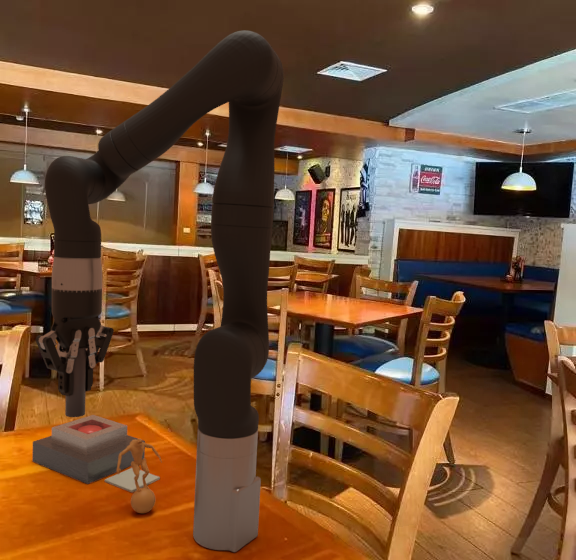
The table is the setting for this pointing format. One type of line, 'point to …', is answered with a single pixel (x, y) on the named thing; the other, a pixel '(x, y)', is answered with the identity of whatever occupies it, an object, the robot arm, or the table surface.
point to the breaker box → (85, 449)
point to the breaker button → (89, 429)
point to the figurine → (142, 496)
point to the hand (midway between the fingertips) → (75, 392)
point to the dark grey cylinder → (77, 386)
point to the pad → (130, 480)
